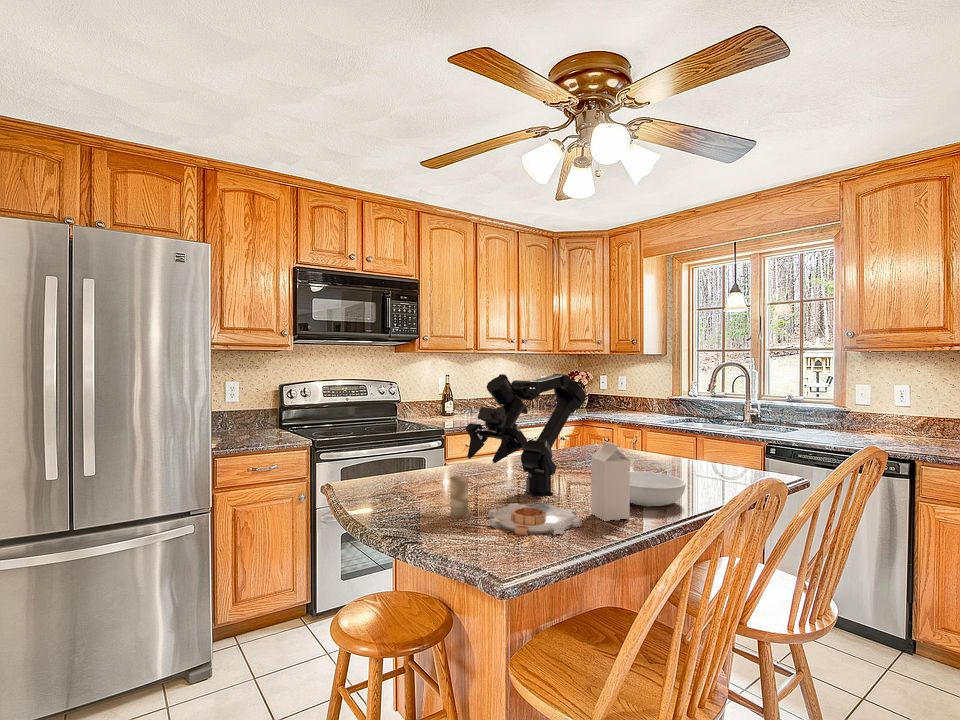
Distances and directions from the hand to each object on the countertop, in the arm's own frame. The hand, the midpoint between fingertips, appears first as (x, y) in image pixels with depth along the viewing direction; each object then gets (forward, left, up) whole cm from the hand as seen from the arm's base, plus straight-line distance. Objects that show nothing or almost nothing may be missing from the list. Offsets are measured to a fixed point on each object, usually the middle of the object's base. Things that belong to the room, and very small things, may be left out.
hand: (480, 460), depth 145 cm
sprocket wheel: (-10, +13, -13) cm, 21 cm away
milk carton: (-30, +15, -14) cm, 36 cm away
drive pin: (+7, +4, -13) cm, 16 cm away
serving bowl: (-47, +5, -14) cm, 49 cm away
